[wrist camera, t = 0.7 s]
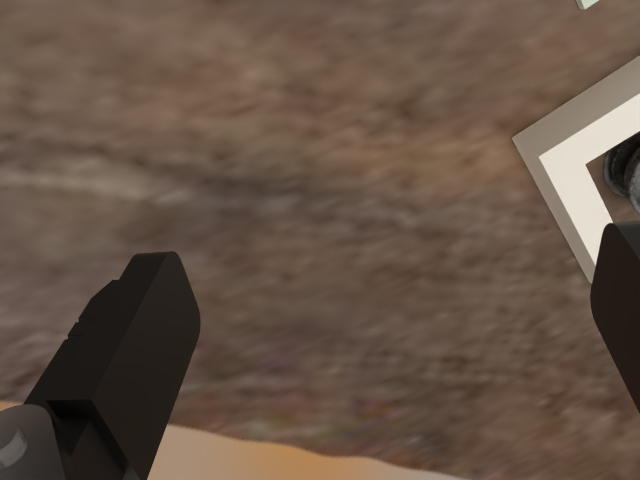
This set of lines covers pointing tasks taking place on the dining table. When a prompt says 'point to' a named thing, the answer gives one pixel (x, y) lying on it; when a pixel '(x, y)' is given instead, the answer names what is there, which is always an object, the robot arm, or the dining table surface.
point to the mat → (585, 3)
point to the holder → (581, 156)
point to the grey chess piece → (624, 169)
